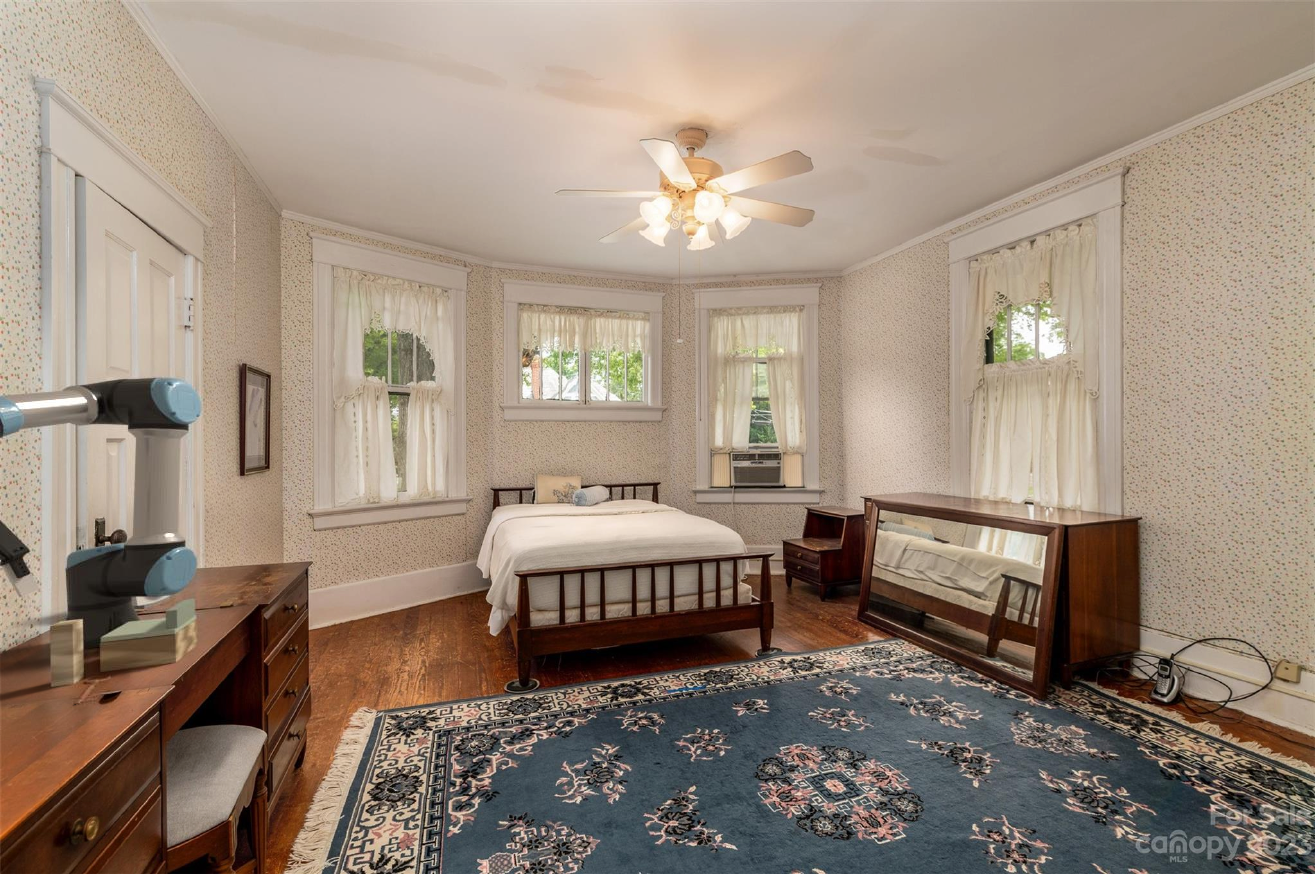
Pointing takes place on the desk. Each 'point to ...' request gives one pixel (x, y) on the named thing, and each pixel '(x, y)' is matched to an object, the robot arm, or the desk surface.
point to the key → (90, 688)
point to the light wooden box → (147, 649)
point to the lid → (156, 624)
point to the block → (66, 652)
